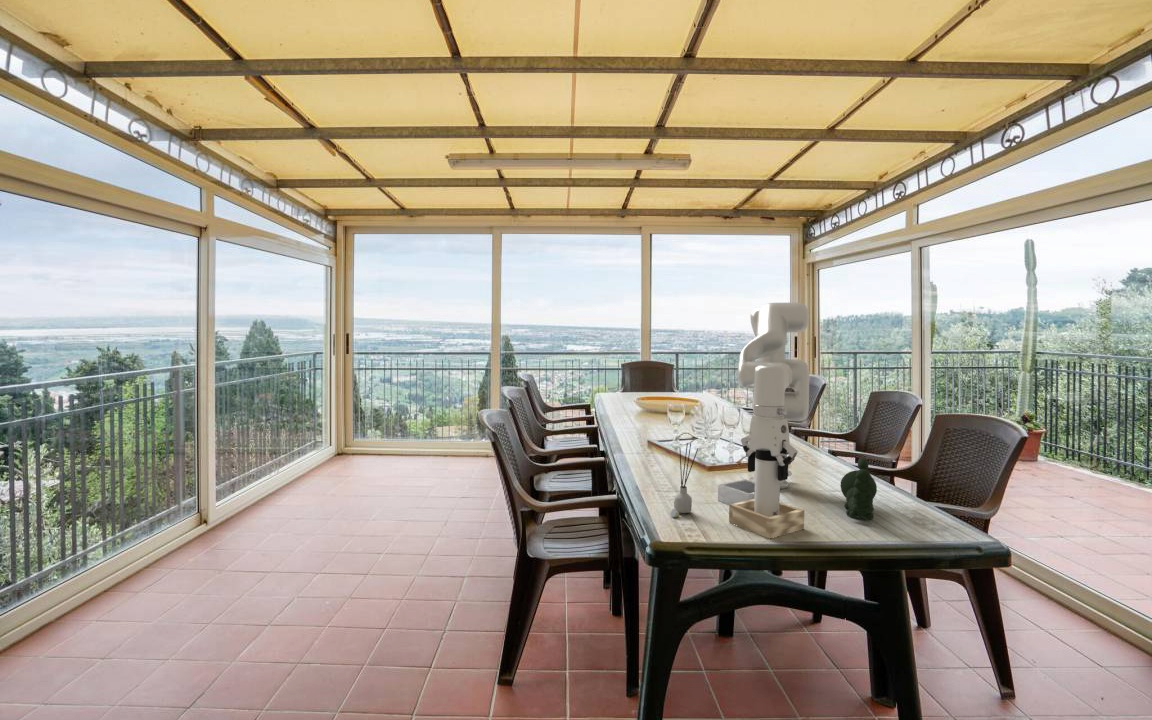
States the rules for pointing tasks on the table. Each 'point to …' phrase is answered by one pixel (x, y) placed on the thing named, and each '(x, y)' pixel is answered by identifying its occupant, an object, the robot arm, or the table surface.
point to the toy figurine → (859, 491)
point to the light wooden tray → (766, 519)
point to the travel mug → (766, 484)
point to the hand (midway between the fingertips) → (767, 475)
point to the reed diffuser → (683, 492)
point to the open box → (736, 491)
